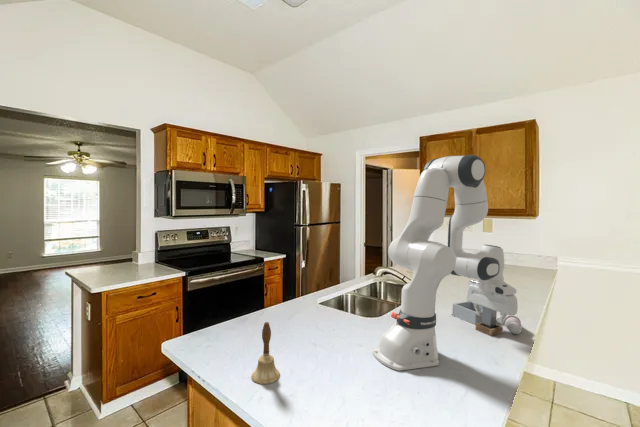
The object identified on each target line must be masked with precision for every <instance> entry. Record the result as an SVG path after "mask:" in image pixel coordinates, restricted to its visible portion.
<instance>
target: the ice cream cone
mask: <svg viewBox="0 0 640 427" xmlns="http://www.w3.org/2000/svg"><path fill="white" fill-rule="evenodd" d="M503 325H504V326H505V327H506V329H507V330H508V331H509V332H510V333H511V334H513V335H519V334H520V333H521V332H522V323H521V320H520V318H518V316H515V315H512V316H509V315H507V316H506V317H505V319H504V323H503Z"/></svg>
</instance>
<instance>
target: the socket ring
mask: <svg viewBox="0 0 640 427" xmlns="http://www.w3.org/2000/svg"><path fill="white" fill-rule="evenodd" d="M503 330H504V326H501V325H498V324H496V328H493V329H490V328H487V327H485V326H482V322H480V323H476V325H475V331H477V332H480V333H482V334H486V335H488V336H490V337H493V336H498V335H501V334H502V335H503V333H504V332H503Z"/></svg>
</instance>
